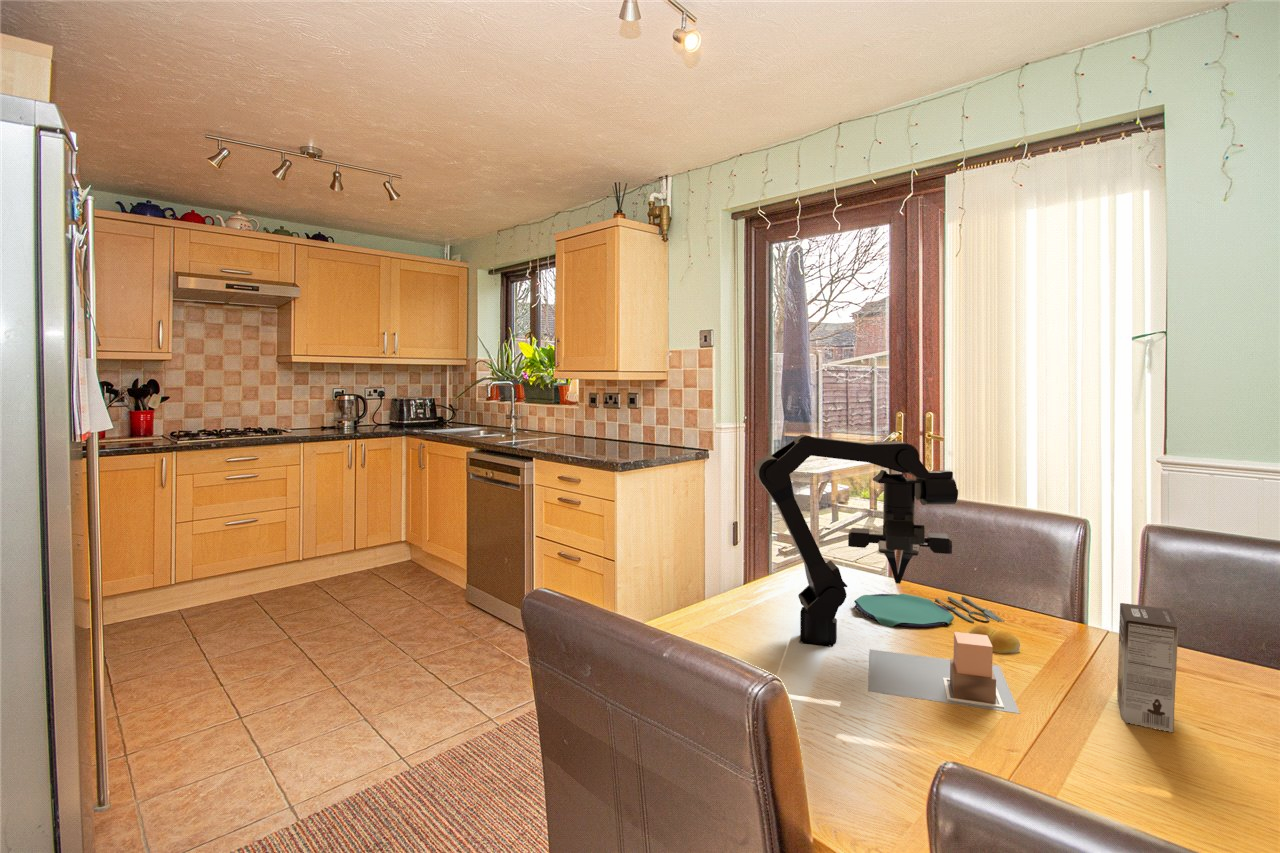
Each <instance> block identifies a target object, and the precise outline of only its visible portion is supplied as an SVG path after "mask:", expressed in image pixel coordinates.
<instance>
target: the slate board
mask: <svg viewBox="0 0 1280 853" xmlns="http://www.w3.org/2000/svg"><path fill="white" fill-rule="evenodd" d="M868 660H869V661H868V664H869V665H868V666H869V667H868V685H867V686H868V689H867V690H868V692H871V693H877V694H883V695H890V696H897V697H903V698H911V699H918V700H926V701H933V702H937V703H944V704H950V705H951V704H952V705H958V706H959V705H960V706H966V707H973V708H979V709H984V710H985V709H987V710H992V711H998V712H999V711H1000V712H1006V713H1012V714H1021V713H1020V710H1019V708H1018V706H1017V703H1016V701H1015V699H1014V696H1013V694H1012V692H1011V690H1010V687H1009V685H1008V682H1007V680H1006V678H1005V676H1004V673H1003V671H1002V668H1001V666H1000V665H997V664H992V670H993V673H994V675H995V678H996V704H991V703H984V702H977V701H970V700H963V699H956V698H954V697H953V693H952V689H951V684H950V658H942V657H941V658H940V657H934V656H926V655H925V656H924V655H917V654H910V653H909V654H908V653H902V652H893V651H887V650H886V651H885V650H878V649H869V659H868Z"/></svg>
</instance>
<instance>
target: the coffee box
mask: <svg viewBox="0 0 1280 853" xmlns="http://www.w3.org/2000/svg"><path fill="white" fill-rule="evenodd" d="M1118 624H1119V626H1118V628H1119V629H1118V656H1117V658H1118V661H1117V686H1116V687H1117V689H1116V690H1117V691H1116V692H1117V693H1116V694H1117V696H1116V698H1117V702H1118V707H1119V712H1120V718H1121V720H1122V722H1123V723H1124V722H1125V723H1124V724H1128V723H1130V725H1133V724H1135V725H1134V726H1137V725H1141V726H1140V727H1142V726H1146V727H1145V728H1147V727H1151V728H1150V729H1152V728H1156V729H1155V730H1157V729H1160V730H1159V731H1161V730H1165V731H1164V732H1166V731H1169V732H1168V733H1171V732H1173V733H1174V731H1175V730H1174V726H1175V703H1176V700H1175V699H1176V682H1177V681H1176V680H1177V661H1178V642H1179V640H1178V638H1179V626H1178V624H1177V622H1176V620H1175V618H1174V615H1173V614H1172V612H1171V609H1170V608H1164V607H1158V606H1157V607H1156V606H1155V607H1154V606H1149V605H1141V604H1131V603H1123V602H1122V603H1121V602H1120V603H1119V622H1118Z"/></svg>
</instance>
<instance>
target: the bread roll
mask: <svg viewBox="0 0 1280 853" xmlns="http://www.w3.org/2000/svg"><path fill="white" fill-rule="evenodd" d="M967 633H970V634H980V635H987V636H988V638H989V640H990V642H991V644H992V646H993V653H996V654H997V653H999V654H1010V653H1011V654H1017V653H1019V651H1020V648H1021V645H1020V644H1021V643H1020V640H1019V638H1018V637H1017V636H1016V635H1015V633H1012V632H1011V631H1010V632H1009V631H1007V630H1003V629H995V628H994V627H992V626H991V625H989V624H988V625H987V624H982V623H981V624H980V623H979V624H976V625H975V626H973V627H972V628H971V629H970V630H968V631H967Z"/></svg>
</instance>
